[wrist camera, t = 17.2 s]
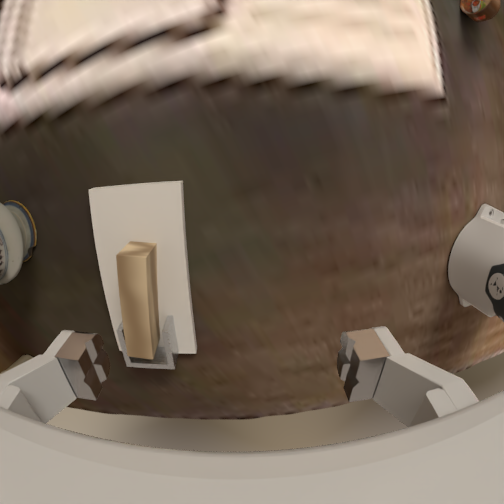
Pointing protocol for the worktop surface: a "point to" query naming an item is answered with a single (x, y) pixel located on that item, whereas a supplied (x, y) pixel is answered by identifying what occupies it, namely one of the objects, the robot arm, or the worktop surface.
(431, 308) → the worktop surface
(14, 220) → the apothecary jar
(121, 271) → the rail
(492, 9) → the tin
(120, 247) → the bracket
